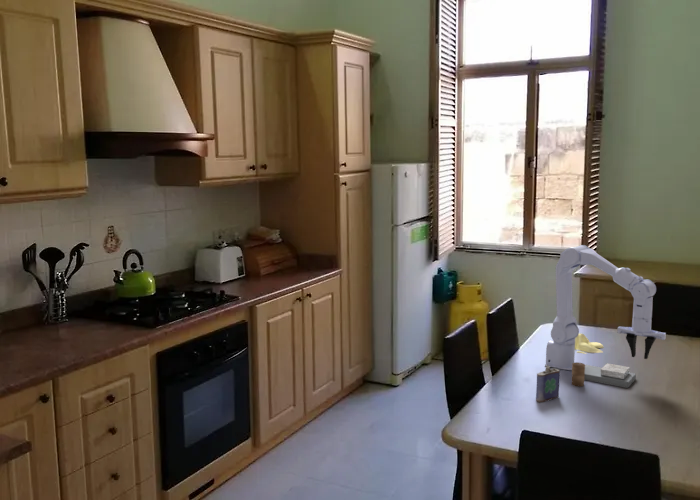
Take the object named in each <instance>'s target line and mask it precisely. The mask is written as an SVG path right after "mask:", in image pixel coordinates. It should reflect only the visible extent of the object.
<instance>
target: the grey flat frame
mask: <svg viewBox="0 0 700 500" xmlns="http://www.w3.org/2000/svg"><path fill="white" fill-rule="evenodd" d="M601 368H603V367H601V366H594V365H590V364H585V376H584V381H590V382H596V383H600V384H605V385H610V386H616V387H621V388H626V389H628V388H630V386H631V385H632V384H633V383H634V382H635V380H636V378H637V377H636V375H637V374H636V373H634V372H629V374H628V375H627V376H626V377H625V378H624V379H620V378H614V377H609V376H604V375H600V374H601Z"/></svg>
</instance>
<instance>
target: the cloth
mask: <svg viewBox="0 0 700 500" xmlns="http://www.w3.org/2000/svg"><path fill="white" fill-rule="evenodd" d="M602 349H604V345H603V344H602V343H600V342H595V341H592V342H591V341H590V340H589V339H588V337H587V336H585V334H584V333H580V332H579V334H578V336H577V337H576V338H575V350H577V351H576V353H577V354H583V355H585V354H586V355H588V353H593V354H598V353H602V354H603V353H604V351H603V350H602ZM578 350H579V351H578Z"/></svg>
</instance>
